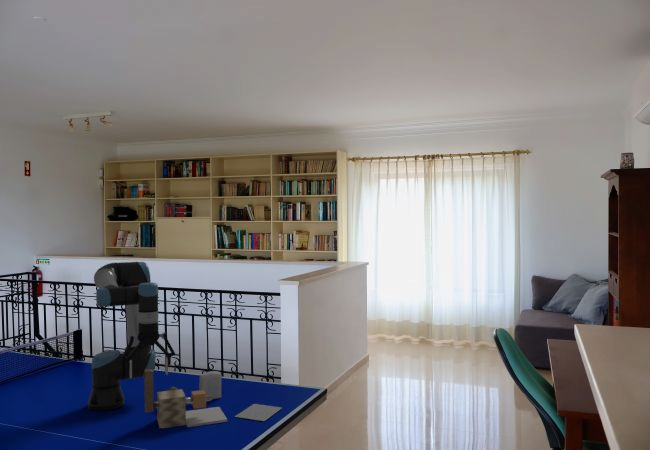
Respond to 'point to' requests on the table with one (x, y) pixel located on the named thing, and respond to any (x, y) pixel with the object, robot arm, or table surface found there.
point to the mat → (205, 417)
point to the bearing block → (171, 408)
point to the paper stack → (258, 412)
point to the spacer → (199, 399)
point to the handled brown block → (149, 393)
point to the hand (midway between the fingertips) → (148, 375)
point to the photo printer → (211, 384)
